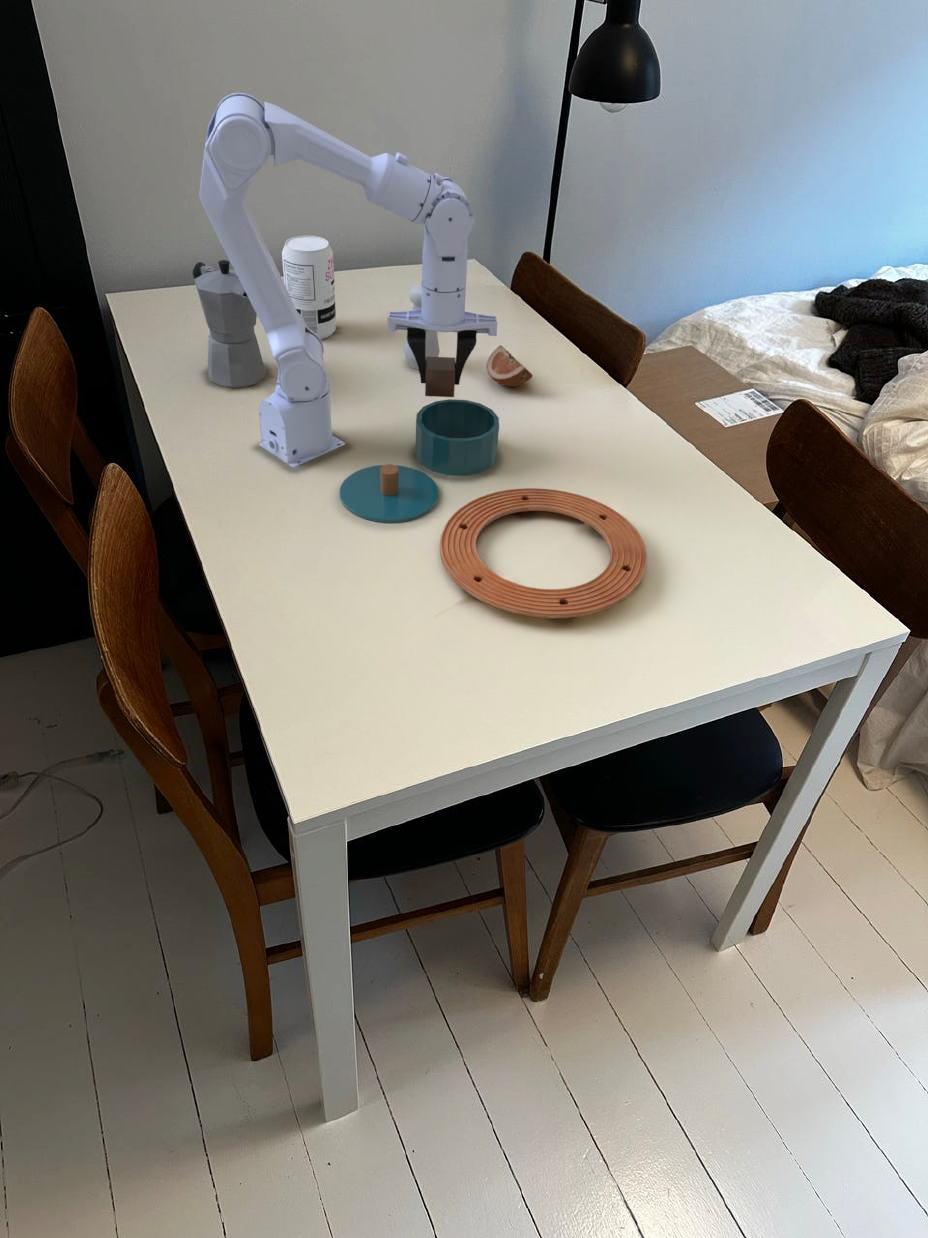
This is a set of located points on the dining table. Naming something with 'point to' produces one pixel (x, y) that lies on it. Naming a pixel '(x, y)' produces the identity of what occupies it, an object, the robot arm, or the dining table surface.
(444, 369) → the block
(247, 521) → the dining table surface
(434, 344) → the salt shaker
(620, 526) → the ring
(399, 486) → the lid
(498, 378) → the fruit slice
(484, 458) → the tin
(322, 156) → the robot arm
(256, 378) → the coffeepot
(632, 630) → the dining table surface
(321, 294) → the supplement can
